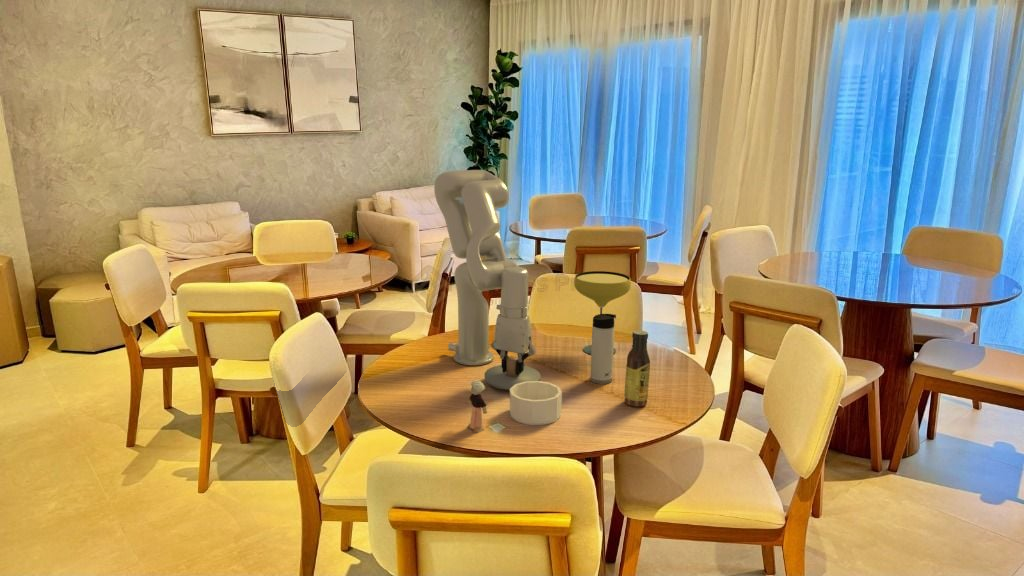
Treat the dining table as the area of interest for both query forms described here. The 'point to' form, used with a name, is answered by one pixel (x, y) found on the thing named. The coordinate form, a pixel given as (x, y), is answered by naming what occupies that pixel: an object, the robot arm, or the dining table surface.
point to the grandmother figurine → (477, 406)
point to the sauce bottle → (637, 371)
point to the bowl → (535, 402)
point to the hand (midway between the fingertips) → (512, 371)
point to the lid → (510, 375)
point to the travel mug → (602, 348)
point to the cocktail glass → (601, 289)
